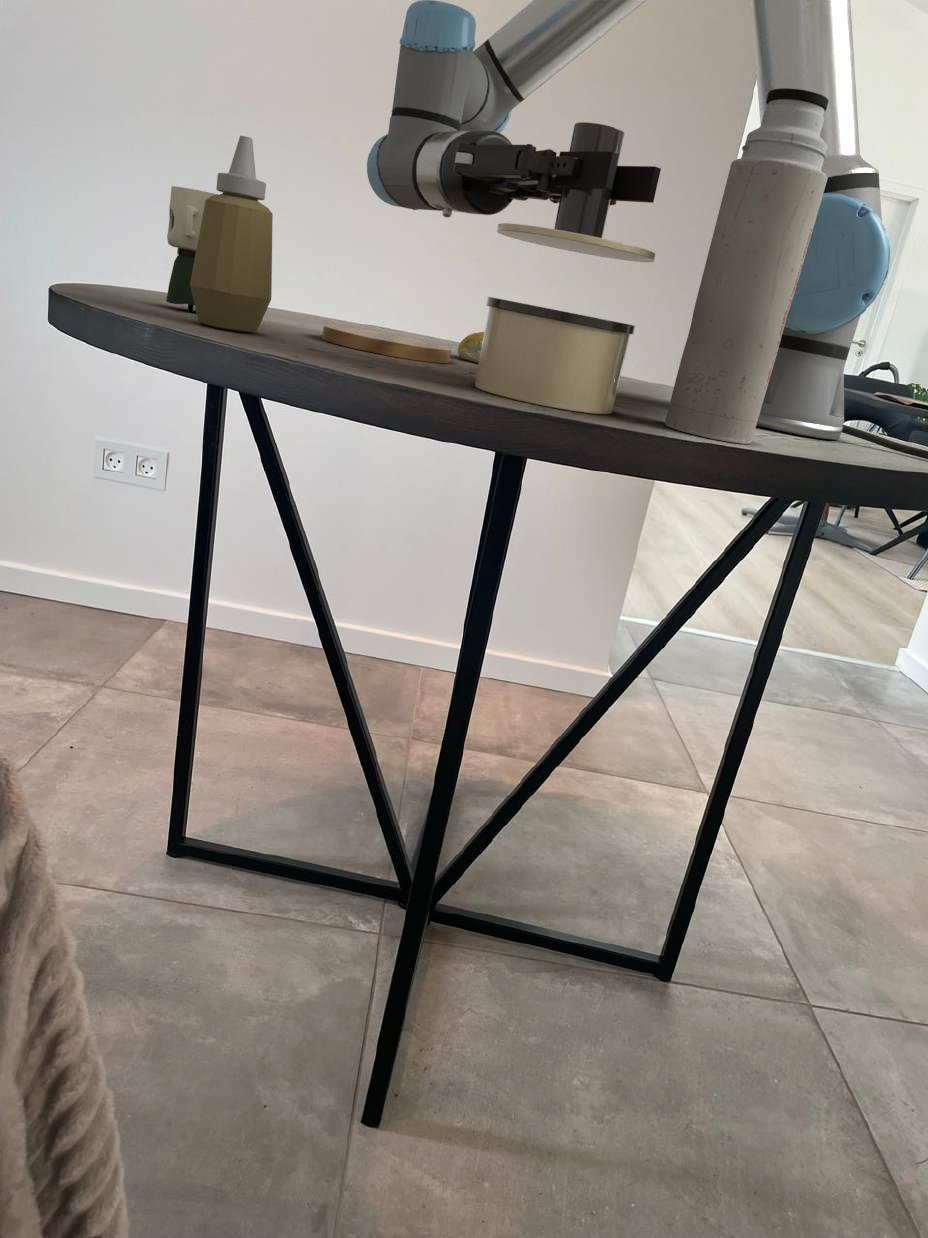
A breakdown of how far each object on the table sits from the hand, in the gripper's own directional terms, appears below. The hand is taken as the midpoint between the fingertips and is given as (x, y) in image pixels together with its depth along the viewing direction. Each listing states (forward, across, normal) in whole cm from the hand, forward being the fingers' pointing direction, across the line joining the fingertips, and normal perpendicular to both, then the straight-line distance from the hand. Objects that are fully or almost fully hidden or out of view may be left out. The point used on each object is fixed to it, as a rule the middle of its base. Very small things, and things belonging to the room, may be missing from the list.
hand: (633, 177), depth 77 cm
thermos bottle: (+6, -10, -20) cm, 23 cm away
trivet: (-34, 0, -19) cm, 39 cm away
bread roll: (-35, -16, -20) cm, 44 cm away
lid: (-5, 0, -6) cm, 8 cm away
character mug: (-50, +17, -19) cm, 56 cm away
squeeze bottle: (-33, +20, -19) cm, 43 cm away
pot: (-5, 0, -19) cm, 20 cm away
